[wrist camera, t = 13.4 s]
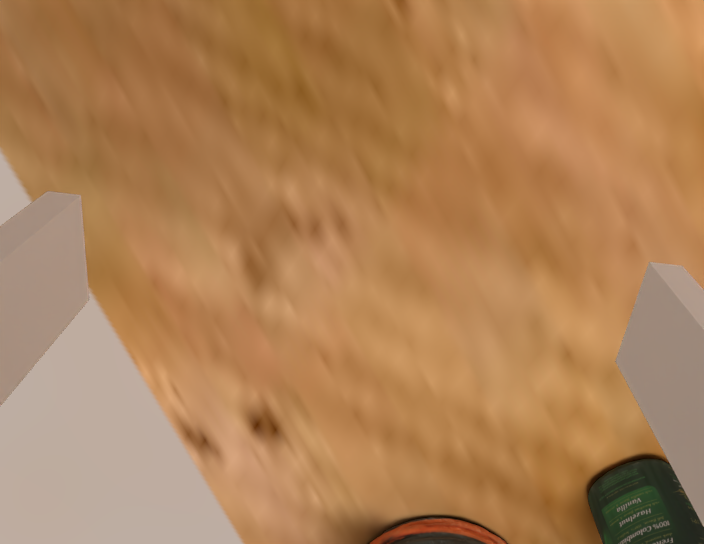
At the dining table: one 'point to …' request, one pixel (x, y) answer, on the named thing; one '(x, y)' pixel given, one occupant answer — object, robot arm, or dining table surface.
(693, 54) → the dining table surface
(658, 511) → the coffee jar
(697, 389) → the robot arm
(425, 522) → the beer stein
